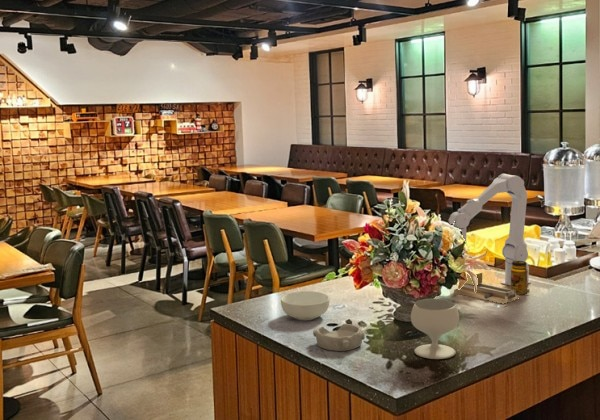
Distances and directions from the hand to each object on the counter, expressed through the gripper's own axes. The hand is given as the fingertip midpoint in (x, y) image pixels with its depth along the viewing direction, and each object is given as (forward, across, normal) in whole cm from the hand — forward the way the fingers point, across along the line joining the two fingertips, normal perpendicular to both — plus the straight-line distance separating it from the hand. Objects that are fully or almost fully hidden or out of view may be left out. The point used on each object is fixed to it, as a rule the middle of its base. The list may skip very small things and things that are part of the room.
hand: (458, 277), depth 276 cm
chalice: (+5, +38, -61) cm, 72 cm away
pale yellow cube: (+2, +7, 0) cm, 7 cm away
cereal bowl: (+5, -16, -65) cm, 67 cm away
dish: (+5, +13, -76) cm, 77 cm away
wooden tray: (+5, +13, 0) cm, 14 cm away
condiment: (+5, +19, +13) cm, 23 cm away
